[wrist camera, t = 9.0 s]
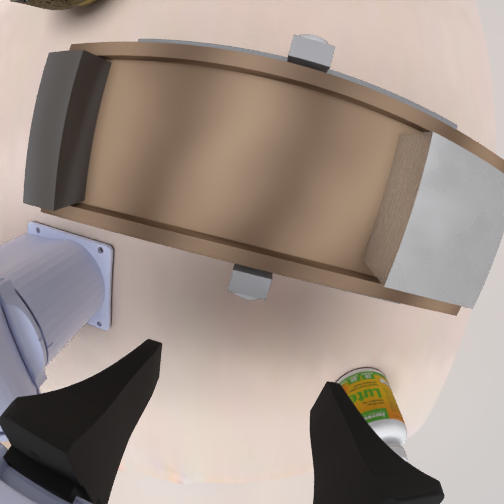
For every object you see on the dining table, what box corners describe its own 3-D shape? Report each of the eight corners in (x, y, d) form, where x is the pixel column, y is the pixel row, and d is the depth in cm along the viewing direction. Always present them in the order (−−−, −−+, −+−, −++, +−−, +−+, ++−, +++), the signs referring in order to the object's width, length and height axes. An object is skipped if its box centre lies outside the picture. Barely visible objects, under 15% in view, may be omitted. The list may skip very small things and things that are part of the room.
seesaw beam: (61, 204, 16) (19, 219, 13) (90, 52, 13) (51, 36, 9) (441, 300, 17) (471, 332, 13) (488, 160, 14) (530, 167, 10)
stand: (105, 226, 21) (59, 250, 15) (144, 40, 17) (105, 11, 11) (394, 300, 21) (425, 343, 16) (450, 123, 17) (500, 119, 11)
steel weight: (361, 259, 15) (383, 286, 12) (399, 134, 13) (433, 131, 10) (443, 282, 16) (472, 308, 12) (479, 174, 13) (517, 182, 10)
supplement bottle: (373, 356, 23) (407, 442, 14) (393, 388, 24) (423, 466, 15) (320, 385, 25) (333, 475, 15) (345, 414, 26) (361, 494, 17)
